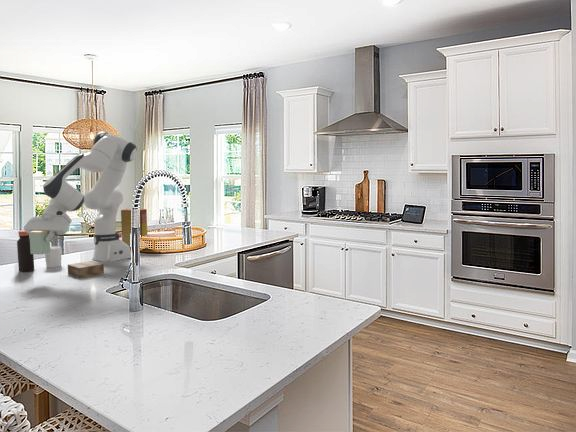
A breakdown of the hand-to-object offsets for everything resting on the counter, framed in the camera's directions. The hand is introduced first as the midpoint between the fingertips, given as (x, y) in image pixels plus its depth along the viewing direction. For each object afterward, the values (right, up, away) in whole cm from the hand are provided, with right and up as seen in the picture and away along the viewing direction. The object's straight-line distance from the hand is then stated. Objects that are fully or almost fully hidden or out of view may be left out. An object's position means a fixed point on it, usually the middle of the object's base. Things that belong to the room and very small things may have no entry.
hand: (38, 240), depth 212 cm
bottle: (-18, -16, +22) cm, 33 cm away
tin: (0, -6, +1) cm, 6 cm away
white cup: (-9, -15, +32) cm, 37 cm away
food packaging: (+16, -10, +84) cm, 86 cm away
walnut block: (+15, -17, +15) cm, 27 cm away
